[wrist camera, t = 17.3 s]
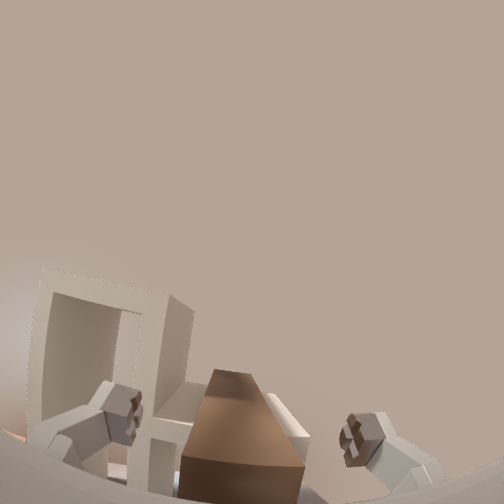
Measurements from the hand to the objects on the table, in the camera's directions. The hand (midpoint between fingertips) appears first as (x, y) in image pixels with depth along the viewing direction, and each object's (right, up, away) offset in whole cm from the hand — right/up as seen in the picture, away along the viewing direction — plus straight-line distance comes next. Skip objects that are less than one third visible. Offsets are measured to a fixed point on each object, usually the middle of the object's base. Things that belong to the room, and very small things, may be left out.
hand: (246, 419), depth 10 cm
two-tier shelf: (-9, -21, +9) cm, 24 cm away
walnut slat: (-1, -5, +9) cm, 10 cm away
